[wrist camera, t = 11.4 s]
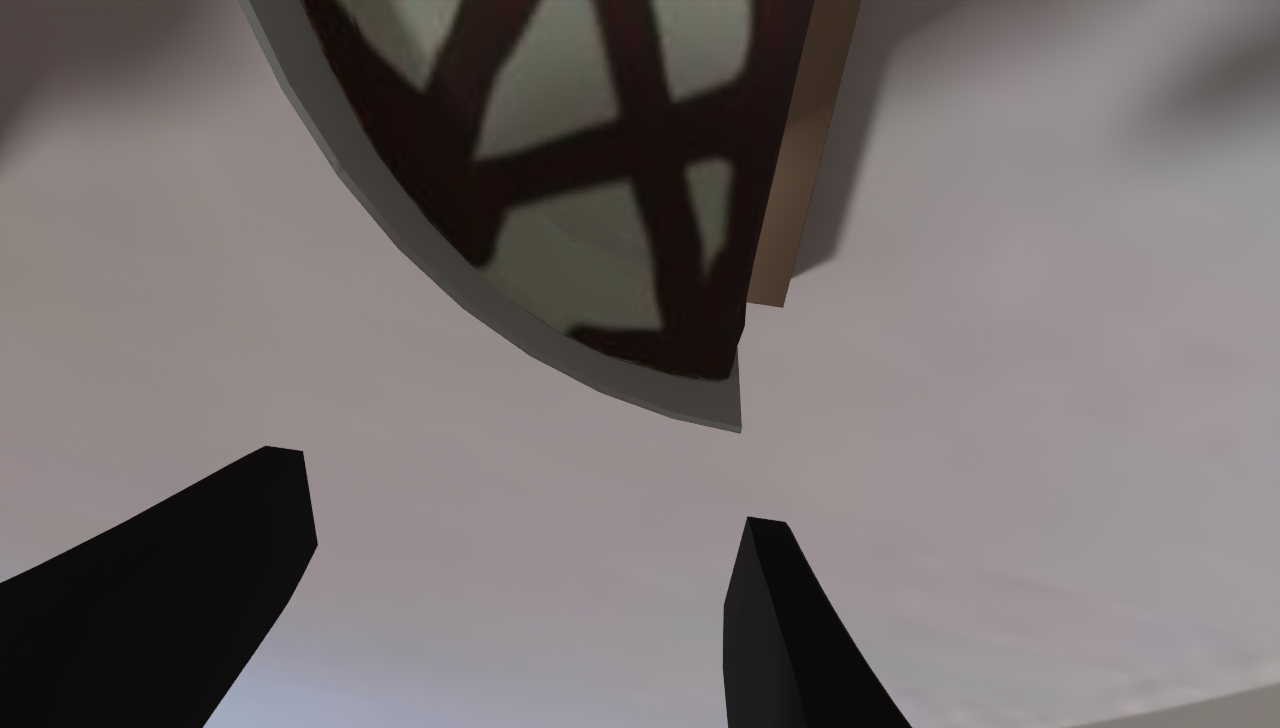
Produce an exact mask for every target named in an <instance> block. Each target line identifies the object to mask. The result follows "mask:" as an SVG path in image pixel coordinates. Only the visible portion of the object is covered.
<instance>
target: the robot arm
mask: <svg viewBox="0 0 1280 728" xmlns="http://www.w3.org/2000/svg"><path fill="white" fill-rule="evenodd" d="M317 546H318V543H317V536H316V530H315V524H314V518H313V511H312V505H311V499H310V492H309V486H308V480H307V474H306V467H305V461H304V455H303V451H298V450H292V449H285V448H278V447H271V446H264V447H262V448H260V449H258V450H256V451H254V452H252V453H250V454H248V455H246V456H244V457H242V458H240V459H239V460H237V461H235V462H233V463H231V464H229V465H227V466H226V467H224V468H222V469H220V470H218V471H217V472H215V473H213V474H211V475H209V476H207V477H206V478H204V479H202V480H200V481H198V482H197V483H195V484H193V485H191V486H189V487H188V488H186V489H184V490H182V491H180V492H178V493H177V494H175V495H173V496H171V497H169V498H167V499H166V500H164V501H162V502H160V503H158V504H156V505H155V506H153V507H151V508H149V509H147V510H145V511H144V512H142V513H140V514H138V515H136V516H134V517H132V518H131V519H129V520H127V521H125V522H123V523H121V524H119V525H117V526H115V527H114V528H112V529H110V530H108V531H106V532H104V533H102V534H100V535H98V536H96V537H94V538H92V539H90V540H88V541H86V542H84V543H82V544H80V545H78V546H76V547H74V548H72V549H70V550H68V551H66V552H64V553H62V554H60V555H58V556H56V557H54V558H52V559H50V560H48V561H46V562H44V563H42V564H40V565H38V566H36V567H34V568H32V569H30V570H27V571H25V572H23V573H21V574H19V575H17V576H15V577H13V578H10V579H8V580H6V581H4V582H2V583H0V728H203V726H204V725H205V723H206V722H207V721H208V719H209V718H210V716H211V715H212V713H213V712H214V710H215V709H216V708H217V706H218V705H219V703H220V702H221V700H222V699H223V697H224V696H225V695H226V693H227V692H228V690H229V689H230V687H231V686H232V684H233V683H234V681H235V680H236V679H237V677H238V676H239V674H240V673H241V671H242V670H243V668H244V667H245V666H246V664H247V663H248V661H249V660H250V658H251V657H252V655H253V654H254V653H255V651H256V650H257V648H258V647H259V645H260V644H261V642H262V641H263V639H264V638H265V636H266V635H267V634H268V632H269V631H270V629H271V628H272V626H273V625H274V623H275V622H276V620H277V619H278V617H279V616H280V614H281V613H282V611H283V610H284V608H285V607H286V605H287V604H288V602H289V600H290V598H291V596H292V595H293V593H294V591H295V589H296V587H297V585H298V583H299V582H300V580H301V578H302V576H303V574H304V572H305V570H306V568H307V566H308V564H309V562H310V560H311V558H312V556H313V554H314V552H315V550H316V548H317ZM723 675H724V686H725V697H726V708H727V719H728V728H912V727H911V725H910V724H909V723H908V721H907V720H906V719H905V717H904V716H903V714H902V713H901V712H900V710H899V709H898V707H897V706H896V705H895V703H894V702H893V700H892V699H891V697H890V696H889V694H888V693H887V692H886V690H885V689H884V687H883V686H882V684H881V683H880V681H879V680H878V678H877V677H876V675H875V674H874V672H873V671H872V669H871V668H870V666H869V665H868V663H867V662H866V660H865V659H864V657H863V656H862V654H861V652H860V651H859V649H858V648H857V646H856V645H855V643H854V641H853V640H852V638H851V636H850V635H849V633H848V631H847V630H846V628H845V627H844V625H843V623H842V622H841V620H840V618H839V617H838V615H837V613H836V612H835V610H834V608H833V607H832V605H831V603H830V601H829V600H828V598H827V596H826V595H825V593H824V591H823V589H822V587H821V586H820V584H819V582H818V580H817V578H816V577H815V575H814V573H813V571H812V569H811V567H810V566H809V564H808V562H807V560H806V558H805V556H804V554H803V552H802V550H801V548H800V546H799V545H798V543H797V541H796V539H795V537H794V535H793V533H792V531H791V529H790V527H789V526H788V525H787V523H786V522H782V521H775V520H768V519H762V518H755V517H748V516H747V520H746V524H745V528H744V531H743V535H742V539H741V543H740V546H739V550H738V554H737V558H736V561H735V565H734V569H733V573H732V576H731V580H730V584H729V588H728V591H727V595H726V599H725V603H724V622H723Z"/></svg>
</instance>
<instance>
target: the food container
mask: <svg viewBox="0 0 1280 728" xmlns="http://www.w3.org/2000/svg"><path fill="white" fill-rule="evenodd" d="M238 1H239V3H240V5H241V7H242V9H243V11H244V13H245V15H246V17H247V19H248V21H249V23H250V25H251V27H252V29H253V31H254V34H255V36H256V38H257V40H258V42H259V44H260V46H261V48H262V50H263V52H264V54H265V56H266V58H267V60H268V62H269V64H270V66H271V68H272V70H273V73H274V75H275V77H276V79H277V81H278V83H279V85H280V87H281V89H282V90H283V92H284V93H285V95H286V96H287V98H288V100H289V101H290V103H291V104H292V106H293V107H294V109H295V110H296V112H297V114H298V115H299V117H300V118H301V120H302V121H303V123H304V124H305V126H306V128H307V129H308V131H309V132H310V134H311V135H312V137H313V138H314V140H315V142H316V143H317V145H318V146H319V148H320V149H321V151H322V152H323V154H324V155H325V157H326V159H327V160H328V162H329V163H330V165H331V166H332V168H333V169H334V171H335V173H336V174H337V176H338V177H339V178H340V179H341V181H342V182H343V183H344V184H345V185H346V187H347V188H348V189H349V190H350V191H351V193H352V194H353V195H354V196H355V197H356V199H357V200H358V201H359V202H360V203H361V204H362V206H363V207H364V208H365V209H366V210H367V212H368V213H369V214H370V215H371V216H372V218H373V219H374V220H375V221H376V222H377V224H378V225H379V226H380V227H381V228H382V230H383V231H384V232H385V233H386V234H387V236H388V237H389V238H390V239H391V240H392V242H393V243H394V244H395V245H396V246H397V248H398V249H399V250H400V251H401V252H402V253H404V254H405V255H406V256H407V257H408V258H409V259H410V260H411V261H412V262H413V263H414V264H415V265H417V266H418V267H419V268H420V269H421V270H422V271H423V272H424V273H425V274H426V275H427V276H428V277H429V278H431V279H432V280H433V281H434V282H435V283H436V284H437V285H438V286H439V287H440V288H441V289H442V290H444V291H445V292H446V293H447V294H448V295H449V296H450V297H451V298H452V299H453V300H454V301H455V302H457V303H458V304H459V305H460V306H461V307H462V308H463V309H464V310H466V311H467V312H469V313H470V314H471V315H473V316H474V317H476V318H477V319H479V320H480V321H481V322H483V323H484V324H486V325H487V326H488V327H490V328H491V329H493V330H494V331H496V332H497V333H498V334H500V335H501V336H503V337H504V338H505V339H507V340H508V341H510V342H511V343H513V344H514V345H515V346H517V347H518V348H520V349H521V350H522V351H524V352H525V353H527V354H528V355H530V356H531V357H533V358H535V359H537V360H539V361H541V362H543V363H545V364H547V365H548V366H550V367H552V368H554V369H556V370H558V371H560V372H562V373H564V374H566V375H568V376H570V377H571V378H573V379H575V380H577V381H579V382H581V383H583V384H585V385H587V386H589V387H591V388H593V389H594V390H596V391H598V392H600V393H603V394H606V395H609V396H611V397H614V398H617V399H620V400H622V401H625V402H628V403H631V404H634V405H636V406H639V407H642V408H645V409H647V410H650V411H653V412H656V413H658V414H661V415H664V416H667V417H669V418H672V419H677V420H681V421H686V422H690V423H695V424H699V425H704V426H708V427H713V428H717V429H722V430H727V431H731V432H736V433H741V429H742V423H741V404H740V385H739V367H738V348H737V345H738V343H739V340H740V337H741V335H742V332H743V329H744V327H745V314H746V300H747V295H748V290H749V285H750V280H751V275H752V270H753V265H754V260H755V255H756V251H757V247H758V243H759V238H760V234H761V230H762V225H763V221H764V217H765V212H766V208H767V204H768V200H769V195H770V191H771V187H772V182H773V178H774V174H775V169H776V165H777V161H778V156H779V152H780V148H781V143H782V139H783V134H784V130H785V125H786V121H787V117H788V112H789V108H790V103H791V99H792V94H793V90H794V86H795V81H796V77H797V72H798V68H799V64H800V59H801V55H802V50H803V46H804V42H805V38H806V34H807V30H808V26H809V21H810V17H811V13H812V9H813V5H814V1H815V0H238Z"/></svg>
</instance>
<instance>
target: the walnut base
mask: <svg viewBox="0 0 1280 728" xmlns="http://www.w3.org/2000/svg"><path fill="white" fill-rule="evenodd" d="M860 2H861V0H815V1H814V5H813V9H812V13H811V17H810V21H809V26H808V30H807V34H806V38H805V42H804V46H803V50H802V55H801V59H800V64H799V68H798V72H797V77H796V81H795V86H794V90H793V94H792V99H791V103H790V108H789V112H788V117H787V121H786V125H785V130H784V134H783V139H782V143H781V148H780V152H779V156H778V161H777V165H776V169H775V174H774V178H773V182H772V187H771V191H770V195H769V200H768V204H767V208H766V212H765V217H764V221H763V225H762V230H761V234H760V238H759V243H758V247H757V251H756V255H755V260H754V265H753V270H752V275H751V280H750V285H749V290H748V295H747V300H746V302H748V303H755V304H762V305H769V306H775V307H782V308H783V306H784V302H785V298H786V294H787V290H788V286H789V282H790V278H791V274H792V270H793V267H794V263H795V259H796V255H797V251H798V247H799V243H800V239H801V235H802V231H803V227H804V223H805V219H806V215H807V211H808V207H809V203H810V199H811V195H812V191H813V187H814V183H815V180H816V176H817V172H818V168H819V164H820V160H821V156H822V152H823V148H824V144H825V140H826V136H827V132H828V128H829V124H830V120H831V116H832V112H833V108H834V104H835V100H836V96H837V93H838V89H839V85H840V81H841V77H842V73H843V69H844V65H845V61H846V57H847V53H848V49H849V45H850V41H851V37H852V33H853V29H854V25H855V21H856V17H857V13H858V9H859V6H860Z"/></svg>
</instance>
